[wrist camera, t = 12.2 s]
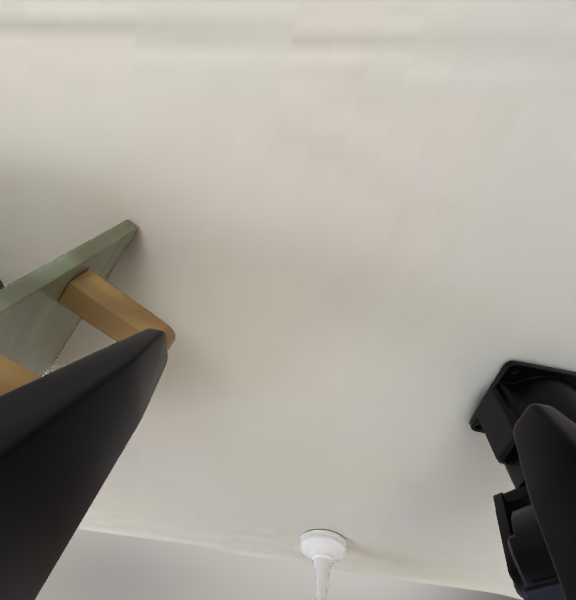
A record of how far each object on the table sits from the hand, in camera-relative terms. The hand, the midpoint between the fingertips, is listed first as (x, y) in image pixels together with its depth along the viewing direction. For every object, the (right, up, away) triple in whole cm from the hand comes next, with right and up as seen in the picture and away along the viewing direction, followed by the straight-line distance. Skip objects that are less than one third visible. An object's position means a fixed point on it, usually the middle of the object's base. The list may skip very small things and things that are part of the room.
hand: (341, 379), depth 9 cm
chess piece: (+2, -24, +28) cm, 37 cm away
